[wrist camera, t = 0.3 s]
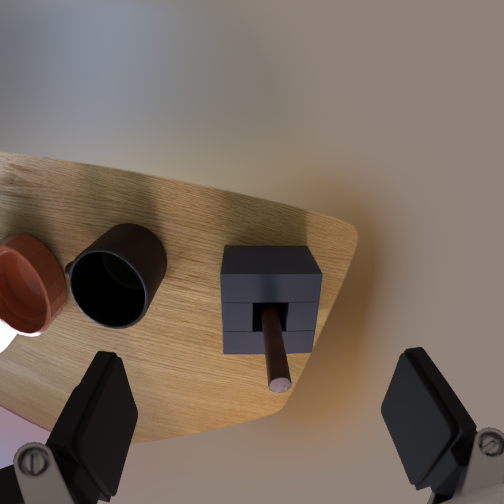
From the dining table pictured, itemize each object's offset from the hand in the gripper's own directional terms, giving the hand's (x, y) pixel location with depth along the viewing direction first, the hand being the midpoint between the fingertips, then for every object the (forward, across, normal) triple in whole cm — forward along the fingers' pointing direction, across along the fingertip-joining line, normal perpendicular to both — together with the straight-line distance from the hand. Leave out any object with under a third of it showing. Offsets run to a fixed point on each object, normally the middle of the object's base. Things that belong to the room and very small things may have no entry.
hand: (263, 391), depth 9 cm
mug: (+29, +16, +6) cm, 33 cm away
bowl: (+28, +33, +10) cm, 44 cm away
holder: (+28, -2, +10) cm, 30 cm away
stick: (+28, -2, +10) cm, 30 cm away
